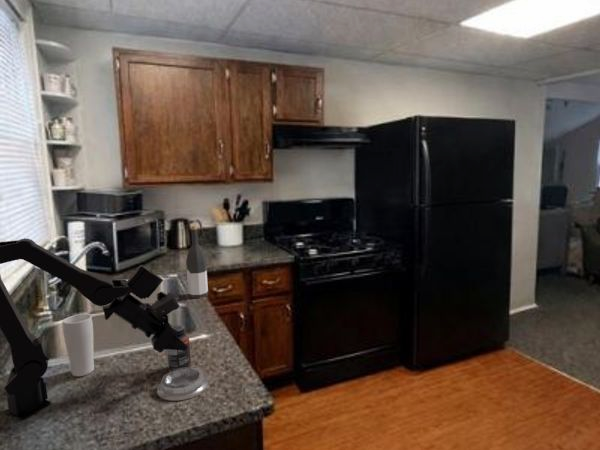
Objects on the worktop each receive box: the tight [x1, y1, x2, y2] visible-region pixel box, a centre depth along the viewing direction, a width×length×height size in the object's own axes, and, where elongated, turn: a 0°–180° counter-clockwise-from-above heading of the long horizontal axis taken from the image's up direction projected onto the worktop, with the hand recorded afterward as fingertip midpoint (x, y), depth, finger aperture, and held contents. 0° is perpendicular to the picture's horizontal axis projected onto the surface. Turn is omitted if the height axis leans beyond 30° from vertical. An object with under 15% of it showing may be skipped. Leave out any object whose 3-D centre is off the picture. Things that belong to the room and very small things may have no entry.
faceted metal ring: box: [156, 366, 209, 402], centre depth 95 cm, size 12×12×2 cm
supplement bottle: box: [166, 325, 192, 372], centre depth 103 cm, size 6×6×11 cm
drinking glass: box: [62, 313, 95, 377], centre depth 102 cm, size 7×7×15 cm
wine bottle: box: [185, 225, 209, 299], centre depth 163 cm, size 8×8×30 cm
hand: (183, 343), depth 104 cm, fingers open, 7 cm apart
